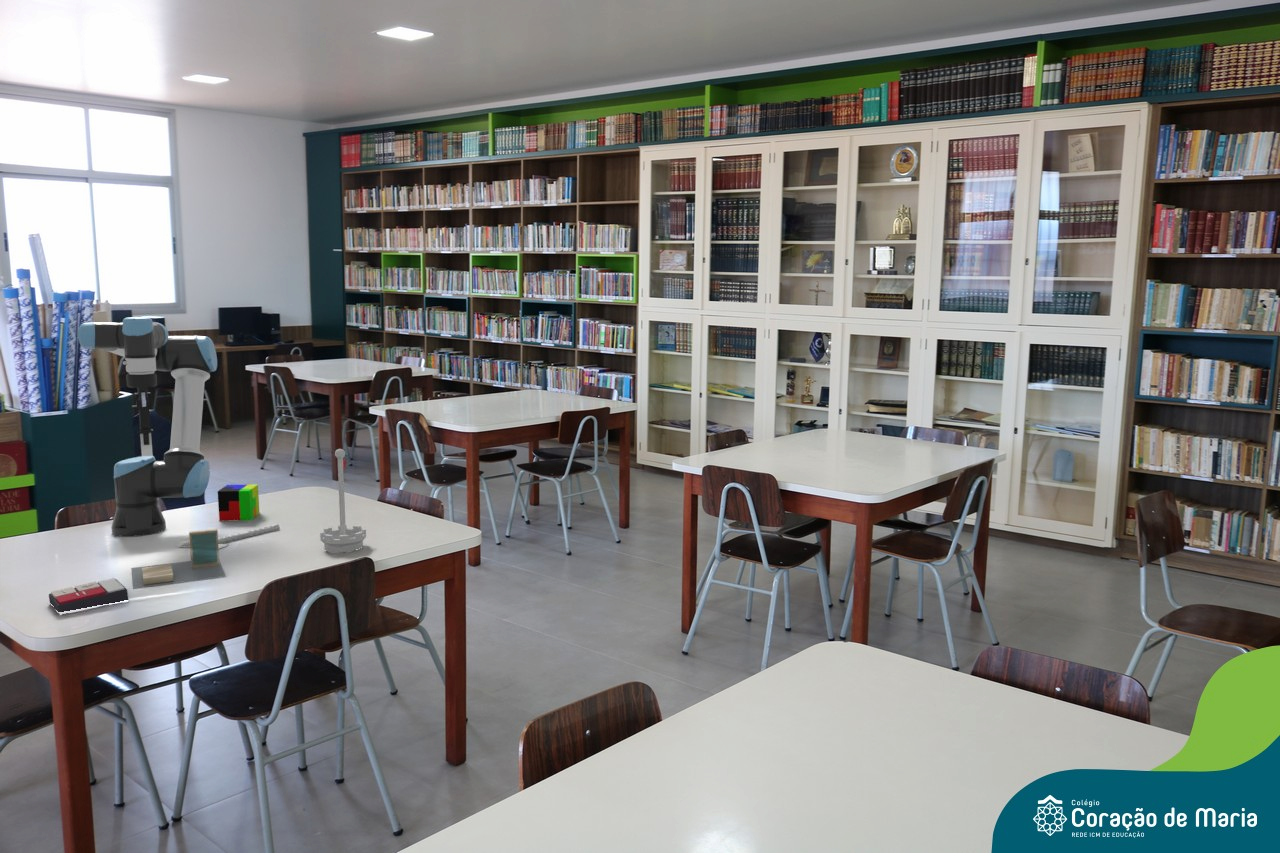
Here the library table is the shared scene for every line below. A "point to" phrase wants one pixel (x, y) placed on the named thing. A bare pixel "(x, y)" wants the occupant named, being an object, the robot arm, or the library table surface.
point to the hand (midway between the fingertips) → (147, 455)
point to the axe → (241, 535)
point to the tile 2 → (204, 548)
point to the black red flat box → (88, 595)
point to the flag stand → (342, 521)
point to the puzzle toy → (238, 502)
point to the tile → (157, 574)
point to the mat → (180, 574)
